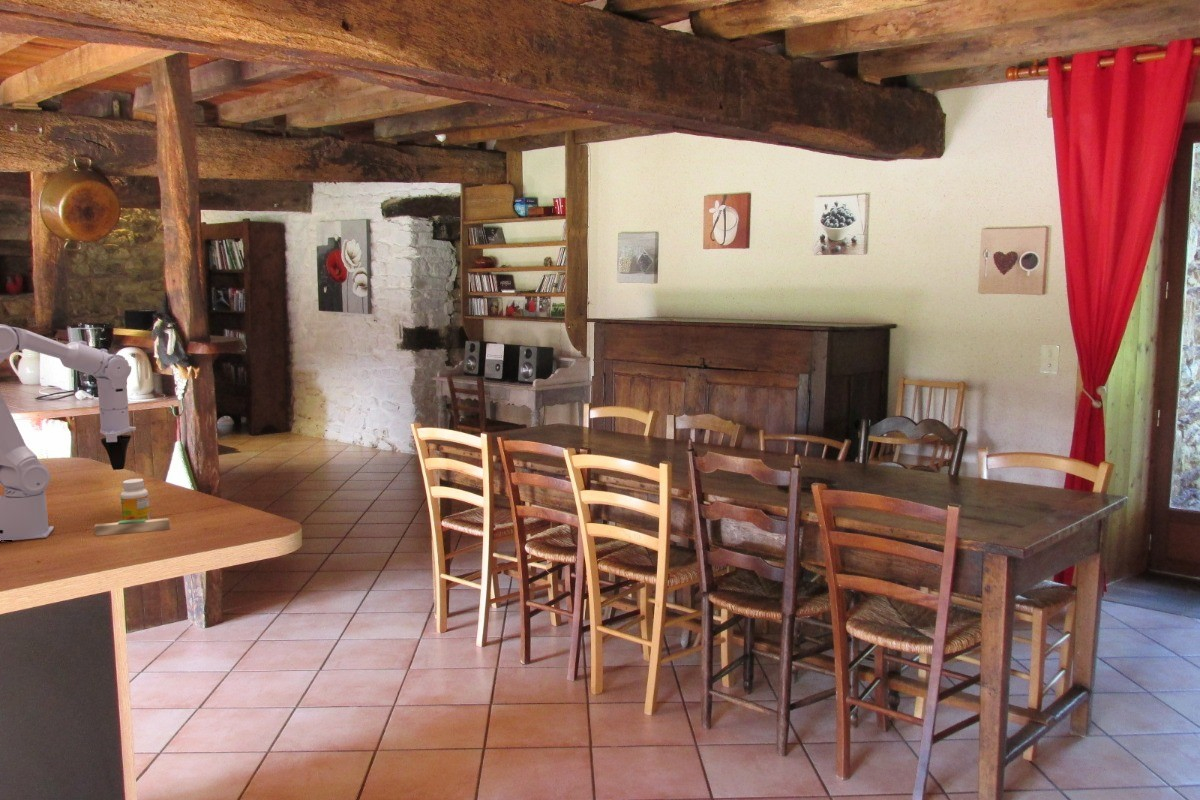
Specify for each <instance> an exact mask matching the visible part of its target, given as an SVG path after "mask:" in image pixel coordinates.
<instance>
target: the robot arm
mask: <svg viewBox="0 0 1200 800" xmlns="http://www.w3.org/2000/svg"><path fill="white" fill-rule="evenodd" d="M23 350H28V351H31V352H35V353H38V354H42V355H46V356H49V357H53V358H56V359H59V360H60V362H61V364H62V366H64V368H68V369H71V370H74V371H78V372H81V373H84V374H86V375H90V376H93V378H95V379H96V381H97V384H96V385H97V395H98V396H97V398H98V407H99V420H100V421H99V422H100V429H99V433H100V434H102V435H103V436H105V437H103V438H102V439H100V442H101V445H102V446H103V447H104V449H105V451H106V453H107V456H108V459H109V461H110V465H111V468H112V471H117V470H119V471H120V470H124V469H125V466H126V457H127V450H128V447H129V443H130V441H131V439H132V435H131V434H126V433H130V432H134V431H136V429H137V427H136V426H130V425H131V423H130V412H129V411H130V410H129V401H128V387H127V386H128V378H129V376H130V375H131V372H132V366H131V365H129V362H128V360H127V359H126V358H125V357H124V356H123V355H120V354H112V353H109V352H108V349H106V348H100V349H99V348H95V347H93V346H89V345H88V342H87V341H84V340H78V341H71V342H69V343H66V344H65V343H63V342H60V341H57V340H54V339H51V338H50V337H46V336H43V335H41V334H38V333H35V332H32V331H30V330H27V329H24V328H20V327H14V326H9V325H7V324H1V323H0V364H2V363H3V362H4V361H5V360H7V358H8V357H10V355H11V354H13V352H14V351H23ZM124 434H125V435H124ZM23 438H24V437H23V436H22V435H21V432H20V430H19V428H18V426H17V423H16V421H15V419H14V418H13V415H12V413H11V411H10V409H9V406H8V405H7V403H6V400H5V399H4V396H3V394H2V392H1V391H0V485H1V486H2V487H4V494H0V541H1V540H12V541H21V540H31V539H32V540H33V539H34V540H35V539H44V538H48V536H49V535H50V534H51V533H52V532H53V530H54V529H55V526H54V525H52V526H51V525H50V526H49V519H48V517H49V516H48V508H47V507H48V505H47V493H46V488H47V487H48V486H49V484H50V481H51V473H50V470H49V469H48V467H47V466H46V465H45V464H43V463H41V461H39V458H38V456H37V455H36V454H35V453H34V452H33V451H32V450H31V449H30V448H29V447H28V446H27V445H26V443H25V440H24V439H23ZM1 542H2V541H1Z"/></svg>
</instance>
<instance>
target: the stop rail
mask: <svg viewBox="0 0 1200 800" xmlns="http://www.w3.org/2000/svg"><path fill="white" fill-rule="evenodd" d="M170 526H171V525H170V517H164V518H155V519H153V518H152V519H151V520H146V519H135V520H123V519H122V520H119V521H117V522H105V523H95V524H94V526H93V528H94V529H93V530H94V537H98V536H99V537H100V536H110V535H111V536H113V535H121V534H122V535H123V534H132V533H133V534H134V533H142V532H143V533H144V532H157V531H167V530H170V528H171V527H170Z"/></svg>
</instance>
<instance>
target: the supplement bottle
mask: <svg viewBox="0 0 1200 800" xmlns="http://www.w3.org/2000/svg"><path fill="white" fill-rule="evenodd" d="M144 486H145V483H144V479H143V478H130V479H126V480H123V481H122V487H123V489H124V490H123V491H122V492H121V493H120V505H121V515H122V521H123V520H135V519H146V520H151V510H150V509H151V507H150V500H149V499H150V497H149V492H148V490H147V489H146V488H144Z"/></svg>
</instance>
